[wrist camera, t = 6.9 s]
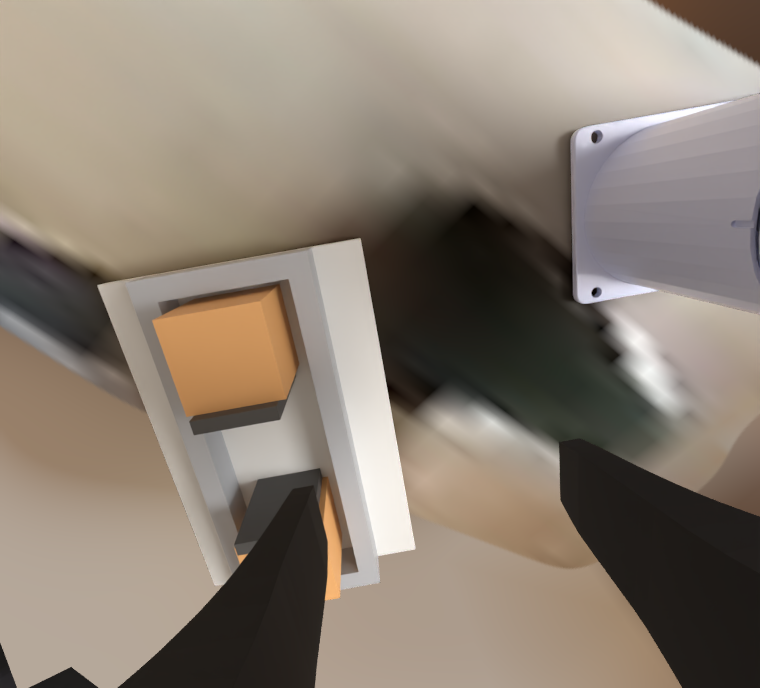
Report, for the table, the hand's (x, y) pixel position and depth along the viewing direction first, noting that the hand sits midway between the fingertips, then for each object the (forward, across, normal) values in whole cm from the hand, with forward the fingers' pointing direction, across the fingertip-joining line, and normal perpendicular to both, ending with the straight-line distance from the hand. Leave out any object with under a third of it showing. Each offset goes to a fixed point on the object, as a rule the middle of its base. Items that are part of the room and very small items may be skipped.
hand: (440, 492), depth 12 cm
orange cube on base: (+9, +7, -3) cm, 12 cm away
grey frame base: (+10, +7, +2) cm, 12 cm away
